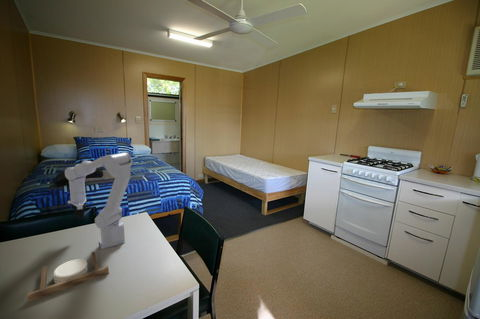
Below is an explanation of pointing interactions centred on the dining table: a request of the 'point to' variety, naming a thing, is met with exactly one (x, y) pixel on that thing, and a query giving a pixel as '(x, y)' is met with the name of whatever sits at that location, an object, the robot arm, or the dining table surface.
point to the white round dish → (70, 270)
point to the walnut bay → (66, 281)
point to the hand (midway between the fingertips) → (80, 218)
